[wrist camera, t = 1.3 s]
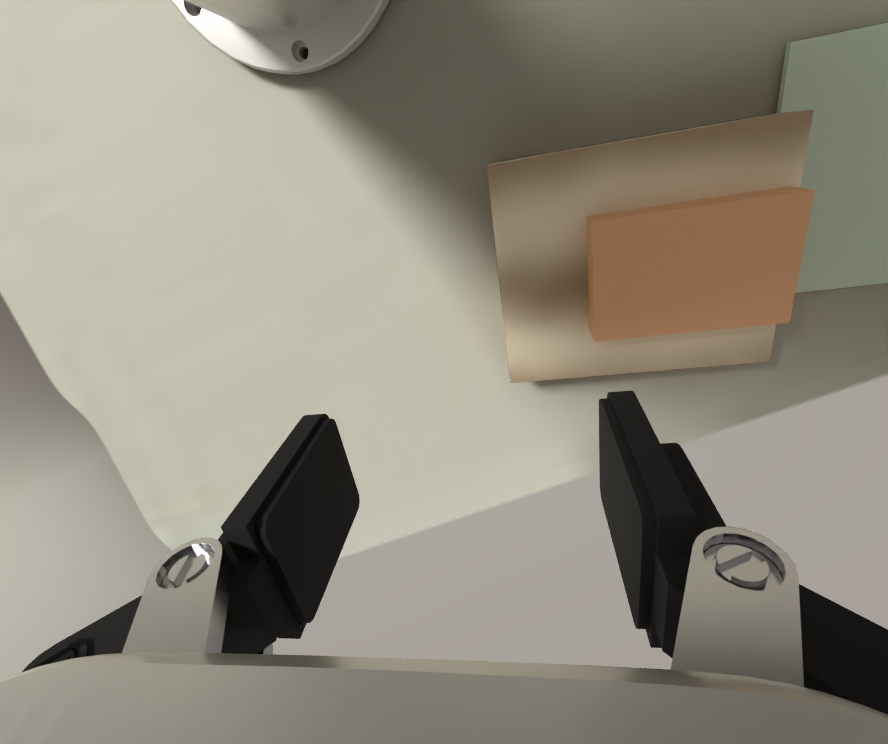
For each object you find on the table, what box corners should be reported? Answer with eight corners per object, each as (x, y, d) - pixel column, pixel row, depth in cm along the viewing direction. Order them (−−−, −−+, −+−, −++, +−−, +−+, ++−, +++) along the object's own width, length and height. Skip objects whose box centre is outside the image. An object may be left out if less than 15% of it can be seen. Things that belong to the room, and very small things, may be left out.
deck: (488, 163, 24) (486, 166, 22) (776, 113, 22) (813, 109, 19) (510, 361, 29) (510, 383, 27) (743, 339, 27) (769, 361, 24)
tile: (586, 216, 22) (592, 222, 20) (790, 186, 20) (814, 189, 19) (589, 328, 25) (594, 341, 23) (770, 310, 23) (789, 322, 21)
